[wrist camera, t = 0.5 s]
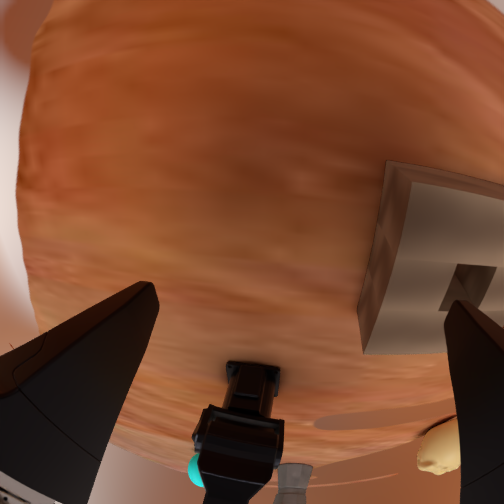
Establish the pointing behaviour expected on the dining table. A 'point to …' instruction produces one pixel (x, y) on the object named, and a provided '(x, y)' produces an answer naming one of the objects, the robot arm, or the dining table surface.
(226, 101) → the dining table surface
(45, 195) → the dining table surface
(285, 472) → the coffeepot
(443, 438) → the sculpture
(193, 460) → the donuts
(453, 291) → the block
